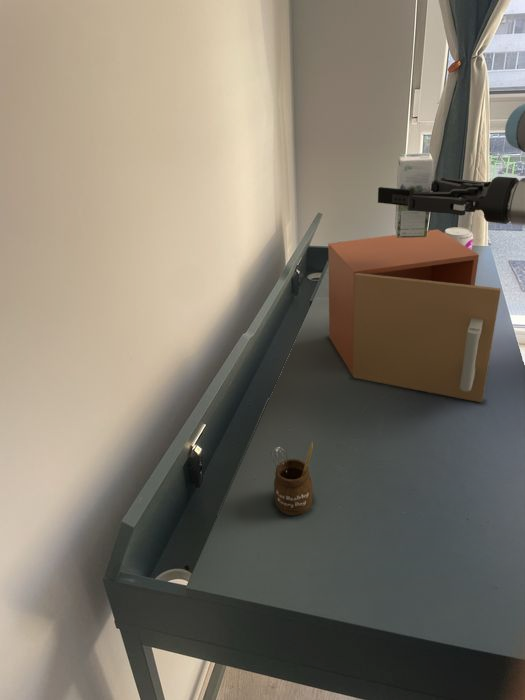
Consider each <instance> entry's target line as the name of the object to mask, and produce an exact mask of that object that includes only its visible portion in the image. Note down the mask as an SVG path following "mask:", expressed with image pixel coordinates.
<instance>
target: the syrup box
mask: <svg viewBox="0 0 525 700" xmlns="http://www.w3.org/2000/svg"><path fill="white" fill-rule="evenodd" d="M397 157H398V158H397V177H396V179H397V180H396V189H406V190H410V188H414V192H432V191H431V183H432V182H433V171H434V159H433V157H432V154H431V152H423V153H421V152H420V153H406V154H405V153H403V154H398V156H397ZM429 217H430V212H422V211H409V210H408V206H403V205H395V217H394V220H395V221H394V230H395V235H396V236H397V238H409V237H427V231H429V230H428V229H429Z"/></svg>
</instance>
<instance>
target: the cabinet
mask: <svg viewBox="0 0 525 700" xmlns="http://www.w3.org/2000/svg"><path fill="white" fill-rule="evenodd" d="M327 246H328V247H327V248H328V253H327V254H328V321H329V322H328V332H329V336H328V337H329V339H330V341H331V342H332V344H333V346H334V348H335V349H336V351H337V352H338V354H339V356H340V357H341V359H342V361H343V362H344V363H345V365H346V367H347V369H348V370H349V372H350V374H351V375H352V376H353V348H354V285H355V274H356V273H362V274H371V275H381V276H390V277H399V278H409V279H418V280H427V281H437V282H446V283H455V284H465V285H474V286H476V279H477V271H478V263H479V256H480V254H479V253H477V252H476V251H474V250H473V249H472V250H470V249H469V248H467V247H466V246H464V245H462V244H461V243H459V242H457V241H456V240H454V239H453V238H451V237H449V236H448V235H446V234H444V232H443V231H441V230H440V229H430V230H427V237H409V238H397V236H396V234H392V235H391V234H390V235H384V236H375V237H369V238H368V237H367V238H359V239H352V240H345V241H344V240H343V241H337V242H330V243H328V244H327Z"/></svg>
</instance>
